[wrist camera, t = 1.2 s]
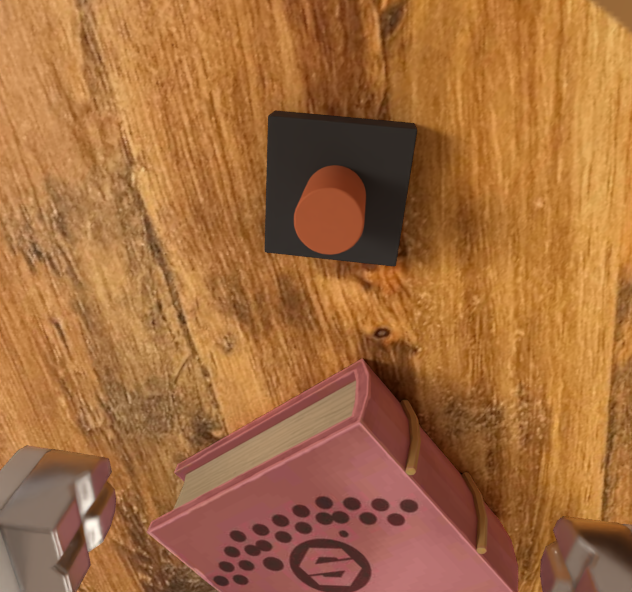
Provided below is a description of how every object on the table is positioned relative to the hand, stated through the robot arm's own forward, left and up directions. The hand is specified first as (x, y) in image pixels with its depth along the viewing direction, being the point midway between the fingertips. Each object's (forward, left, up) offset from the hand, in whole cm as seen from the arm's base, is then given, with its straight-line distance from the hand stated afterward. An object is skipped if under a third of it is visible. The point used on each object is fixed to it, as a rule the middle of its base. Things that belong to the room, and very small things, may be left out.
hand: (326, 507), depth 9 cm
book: (+1, -18, -17) cm, 24 cm away
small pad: (-1, +1, -16) cm, 16 cm away
